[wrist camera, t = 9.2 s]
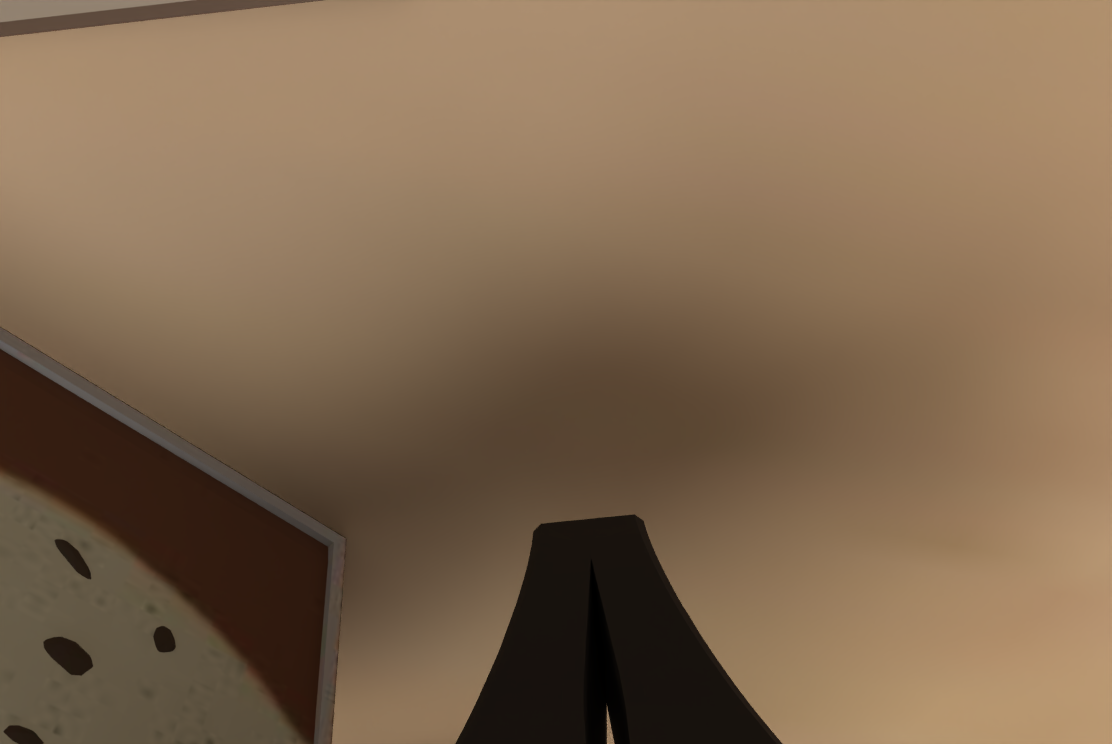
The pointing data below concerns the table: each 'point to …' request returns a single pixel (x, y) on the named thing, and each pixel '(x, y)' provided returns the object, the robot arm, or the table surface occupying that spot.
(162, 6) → the game lane
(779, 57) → the table surface
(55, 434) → the food container
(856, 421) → the table surface
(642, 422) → the table surface
